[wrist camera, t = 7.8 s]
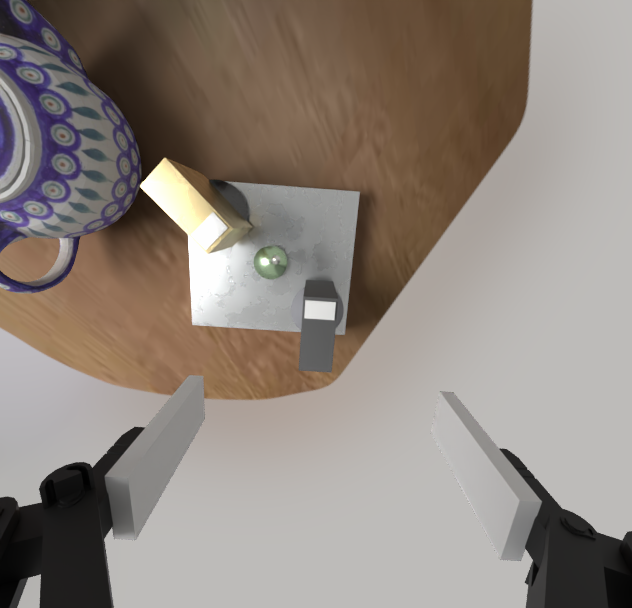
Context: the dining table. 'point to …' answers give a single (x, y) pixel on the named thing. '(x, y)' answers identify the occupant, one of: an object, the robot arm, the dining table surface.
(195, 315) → the plate
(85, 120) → the teapot
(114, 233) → the dining table surface
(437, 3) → the dining table surface
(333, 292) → the dark grey block
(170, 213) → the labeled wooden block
